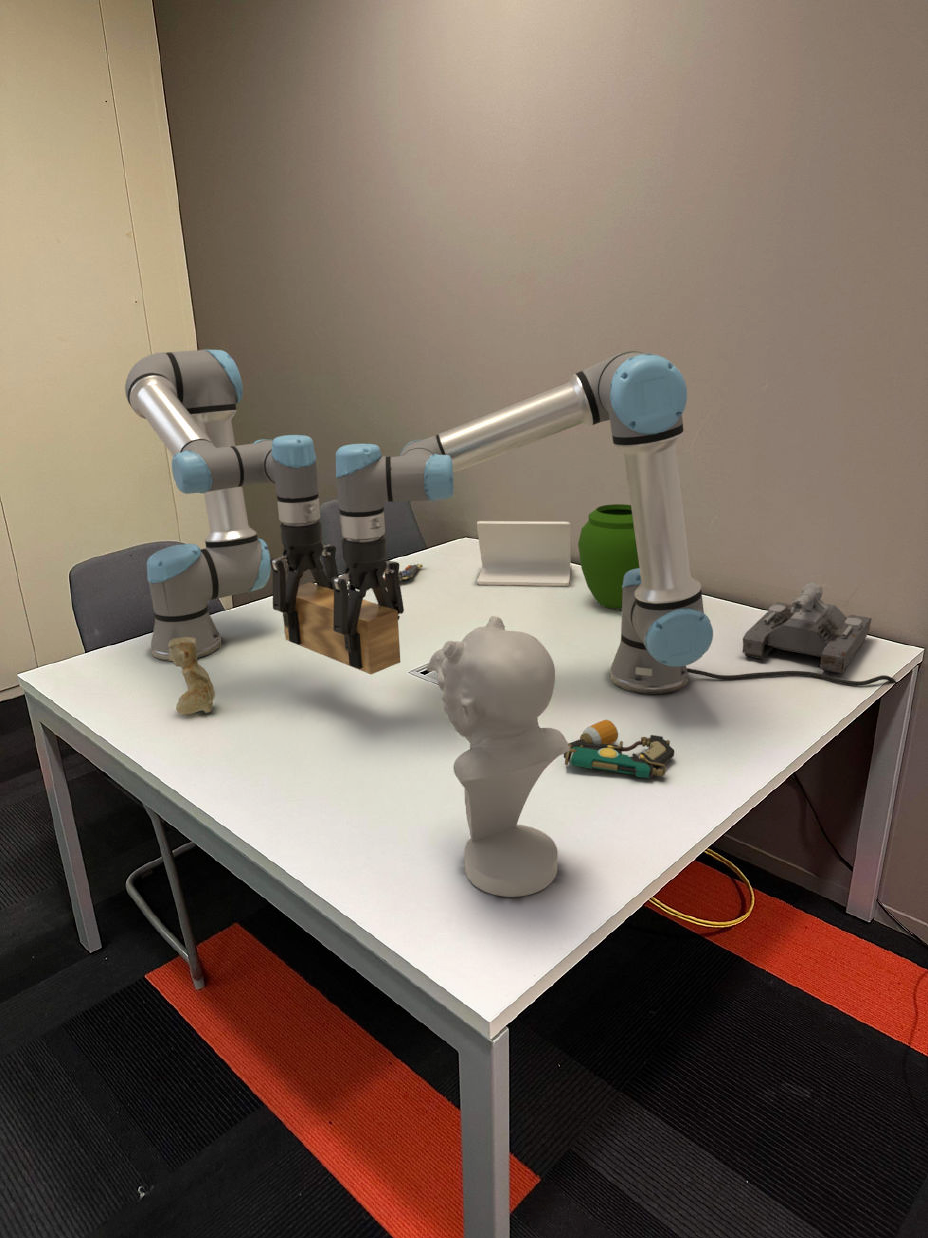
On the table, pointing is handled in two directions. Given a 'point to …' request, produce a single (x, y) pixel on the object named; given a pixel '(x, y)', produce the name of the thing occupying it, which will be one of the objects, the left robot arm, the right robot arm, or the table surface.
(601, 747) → the spray gun
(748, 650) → the toy
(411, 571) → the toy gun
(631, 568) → the vase
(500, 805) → the bust sculpture
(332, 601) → the box
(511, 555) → the tablet stand
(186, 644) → the sculpture
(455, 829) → the table surface
